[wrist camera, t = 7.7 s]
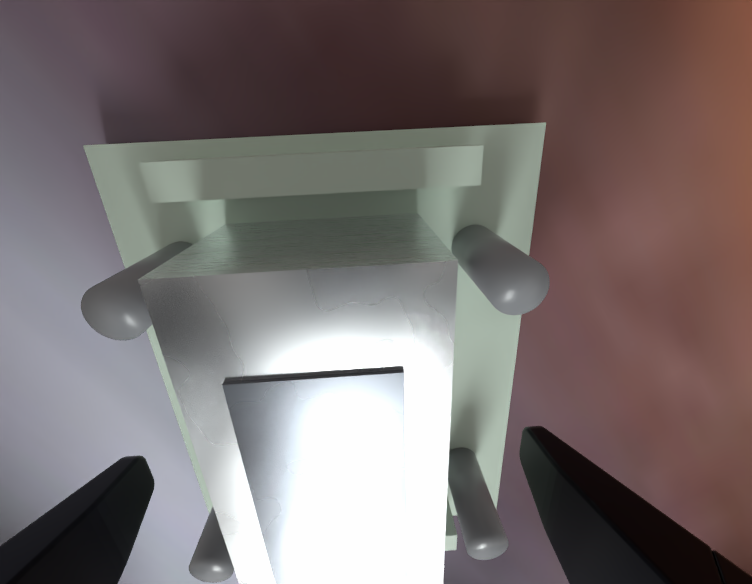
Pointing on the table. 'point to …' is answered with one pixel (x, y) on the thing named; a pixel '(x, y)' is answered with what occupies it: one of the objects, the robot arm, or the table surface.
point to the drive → (317, 392)
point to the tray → (336, 200)
